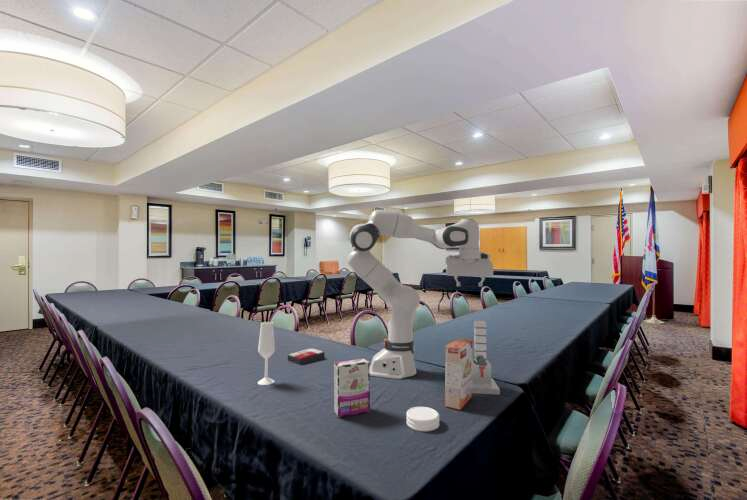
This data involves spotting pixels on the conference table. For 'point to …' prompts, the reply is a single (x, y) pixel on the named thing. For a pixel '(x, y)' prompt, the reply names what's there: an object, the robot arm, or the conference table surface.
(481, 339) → the column
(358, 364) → the candy bar box
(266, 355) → the champagne flute
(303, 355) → the flat red white box
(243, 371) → the conference table surface
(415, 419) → the coaster
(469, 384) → the cracker box
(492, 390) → the housing
